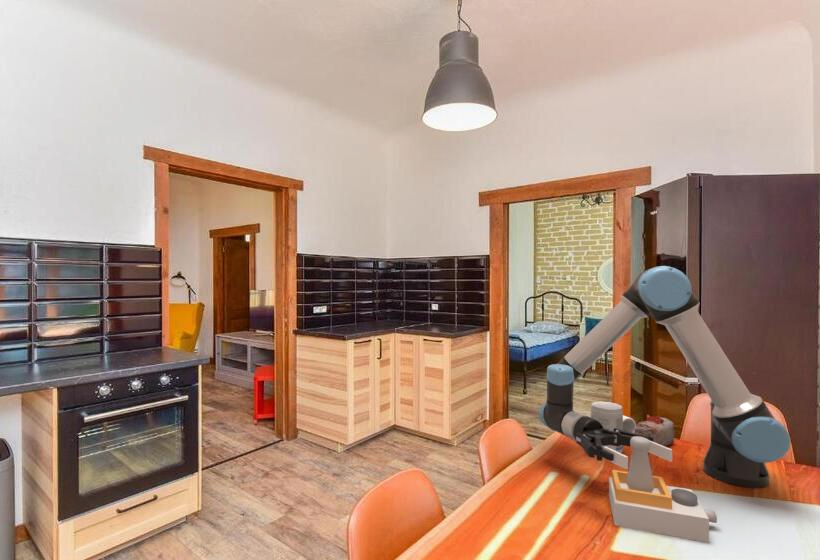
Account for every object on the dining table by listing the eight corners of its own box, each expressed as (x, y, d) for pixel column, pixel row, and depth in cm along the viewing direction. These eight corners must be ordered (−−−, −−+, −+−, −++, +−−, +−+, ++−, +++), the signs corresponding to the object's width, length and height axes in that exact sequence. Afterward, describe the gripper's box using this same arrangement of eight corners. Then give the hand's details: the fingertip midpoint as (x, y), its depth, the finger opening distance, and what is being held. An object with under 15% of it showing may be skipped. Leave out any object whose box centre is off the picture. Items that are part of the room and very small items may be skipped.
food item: (656, 453, 139) (656, 423, 139) (632, 445, 146) (632, 416, 146) (676, 445, 147) (677, 416, 147) (652, 438, 153) (652, 410, 154)
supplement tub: (613, 444, 146) (613, 401, 147) (629, 455, 137) (629, 409, 137) (585, 444, 146) (585, 401, 146) (599, 456, 136) (600, 409, 136)
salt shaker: (651, 490, 103) (652, 435, 103) (656, 501, 98) (657, 444, 98) (624, 486, 105) (625, 432, 105) (627, 496, 100) (628, 440, 100)
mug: (614, 430, 161) (614, 408, 161) (636, 439, 152) (636, 416, 152) (588, 433, 157) (588, 411, 157) (609, 443, 148) (609, 419, 148)
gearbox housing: (705, 512, 103) (706, 481, 103) (725, 546, 90) (726, 509, 90) (609, 496, 110) (609, 467, 110) (614, 525, 97) (614, 491, 97)
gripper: (617, 438, 123) (688, 468, 104) (545, 448, 115) (606, 483, 95) (618, 411, 124) (688, 436, 104) (545, 419, 115) (607, 449, 95)
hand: (649, 459), depth 99 cm, fingers open, 13 cm apart
